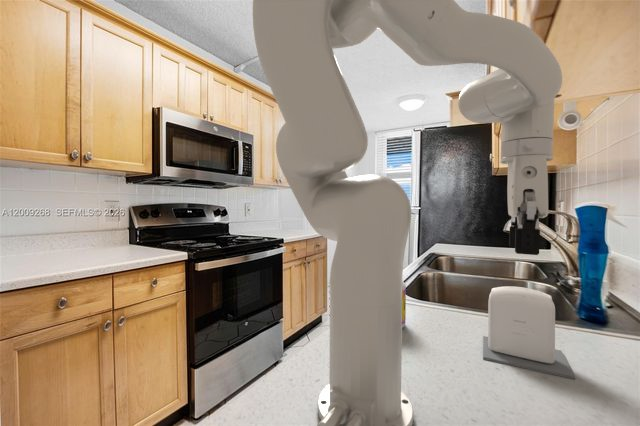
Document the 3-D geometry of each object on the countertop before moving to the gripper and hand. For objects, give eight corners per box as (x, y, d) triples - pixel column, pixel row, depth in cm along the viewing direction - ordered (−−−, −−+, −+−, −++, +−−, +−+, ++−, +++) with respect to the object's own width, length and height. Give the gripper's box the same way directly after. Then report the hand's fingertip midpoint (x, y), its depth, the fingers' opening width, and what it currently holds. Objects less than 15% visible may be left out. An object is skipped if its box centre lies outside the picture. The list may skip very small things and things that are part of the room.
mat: (575, 379, 48) (575, 376, 48) (483, 359, 54) (483, 356, 54) (561, 352, 57) (561, 350, 57) (483, 337, 63) (483, 335, 63)
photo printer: (486, 351, 56) (487, 286, 56) (488, 342, 60) (489, 281, 60) (555, 368, 51) (557, 295, 50) (553, 357, 54) (555, 289, 54)
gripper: (565, 141, 43) (561, 259, 43) (542, 159, 58) (539, 247, 59) (504, 145, 47) (501, 255, 47) (497, 161, 62) (495, 244, 62)
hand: (522, 250), depth 53 cm, fingers open, 9 cm apart
